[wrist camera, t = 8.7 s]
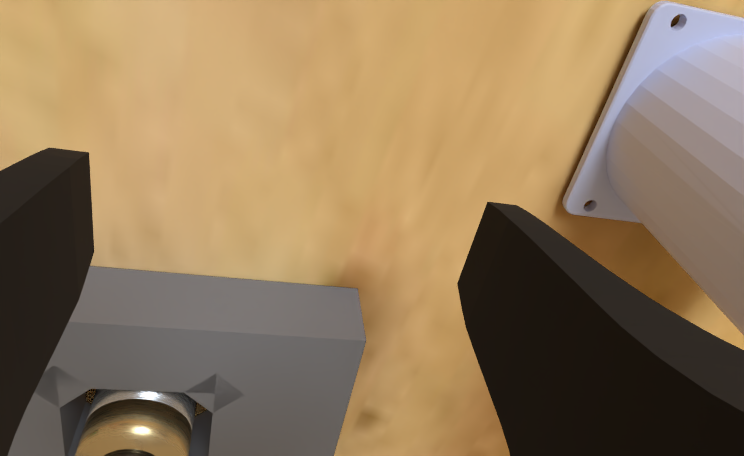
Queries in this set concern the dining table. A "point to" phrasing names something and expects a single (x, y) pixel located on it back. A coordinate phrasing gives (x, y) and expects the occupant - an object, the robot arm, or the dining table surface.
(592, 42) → the dining table surface
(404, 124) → the dining table surface
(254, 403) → the socket plate
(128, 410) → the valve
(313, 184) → the dining table surface
